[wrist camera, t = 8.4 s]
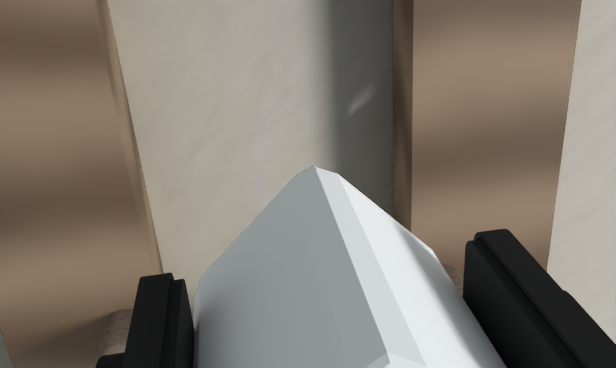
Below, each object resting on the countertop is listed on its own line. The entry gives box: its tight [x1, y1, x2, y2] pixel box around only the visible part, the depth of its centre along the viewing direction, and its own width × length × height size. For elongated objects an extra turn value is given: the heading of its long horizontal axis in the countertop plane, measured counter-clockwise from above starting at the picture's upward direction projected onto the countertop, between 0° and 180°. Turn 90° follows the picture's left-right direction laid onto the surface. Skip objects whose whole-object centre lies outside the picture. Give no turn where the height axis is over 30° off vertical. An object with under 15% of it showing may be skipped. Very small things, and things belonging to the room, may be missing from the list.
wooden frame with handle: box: [0, 0, 582, 368], centre depth 26 cm, size 30×26×3 cm
